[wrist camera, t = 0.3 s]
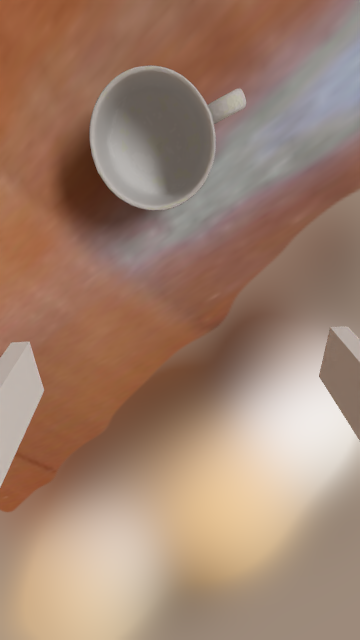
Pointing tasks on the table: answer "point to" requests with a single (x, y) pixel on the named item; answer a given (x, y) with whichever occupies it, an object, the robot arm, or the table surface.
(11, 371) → the robot arm
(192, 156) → the teacup
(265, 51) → the table surface
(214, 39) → the table surface
